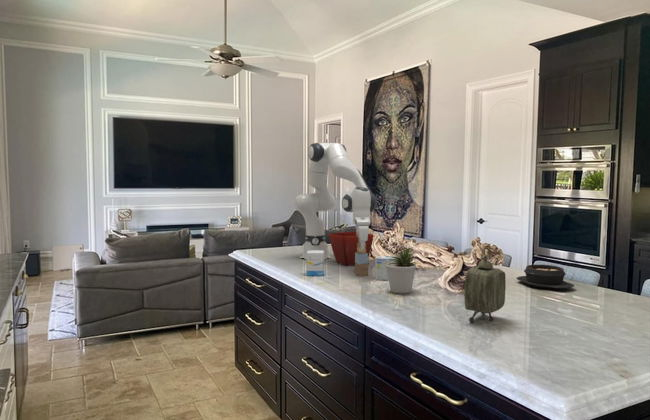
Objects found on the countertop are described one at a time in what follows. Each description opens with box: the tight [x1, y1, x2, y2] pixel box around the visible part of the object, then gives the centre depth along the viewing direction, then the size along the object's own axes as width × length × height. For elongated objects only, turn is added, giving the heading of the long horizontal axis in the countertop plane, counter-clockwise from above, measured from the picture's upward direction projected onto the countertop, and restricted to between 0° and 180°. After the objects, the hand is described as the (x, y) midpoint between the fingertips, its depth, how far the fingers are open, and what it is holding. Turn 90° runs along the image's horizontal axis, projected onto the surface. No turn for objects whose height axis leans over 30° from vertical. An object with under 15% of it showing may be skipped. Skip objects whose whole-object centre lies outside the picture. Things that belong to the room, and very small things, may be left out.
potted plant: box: [386, 244, 419, 295], centre depth 203 cm, size 13×14×20 cm
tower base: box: [354, 263, 369, 277], centre depth 238 cm, size 6×6×6 cm
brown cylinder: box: [357, 243, 366, 254], centre depth 237 cm, size 4×4×5 cm
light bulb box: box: [374, 255, 398, 281], centre depth 228 cm, size 11×7×11 cm, turn 84°
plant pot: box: [328, 231, 374, 267], centre depth 268 cm, size 19×19×17 cm
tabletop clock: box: [463, 247, 507, 323], centre depth 162 cm, size 14×9×25 cm, turn 141°
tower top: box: [355, 252, 369, 265], centre depth 238 cm, size 5×5×5 cm
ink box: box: [306, 250, 325, 277], centre depth 239 cm, size 8×8×12 cm
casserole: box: [516, 264, 575, 290], centre depth 212 cm, size 25×19×8 cm
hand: (361, 247), depth 237 cm, fingers open, 8 cm apart
